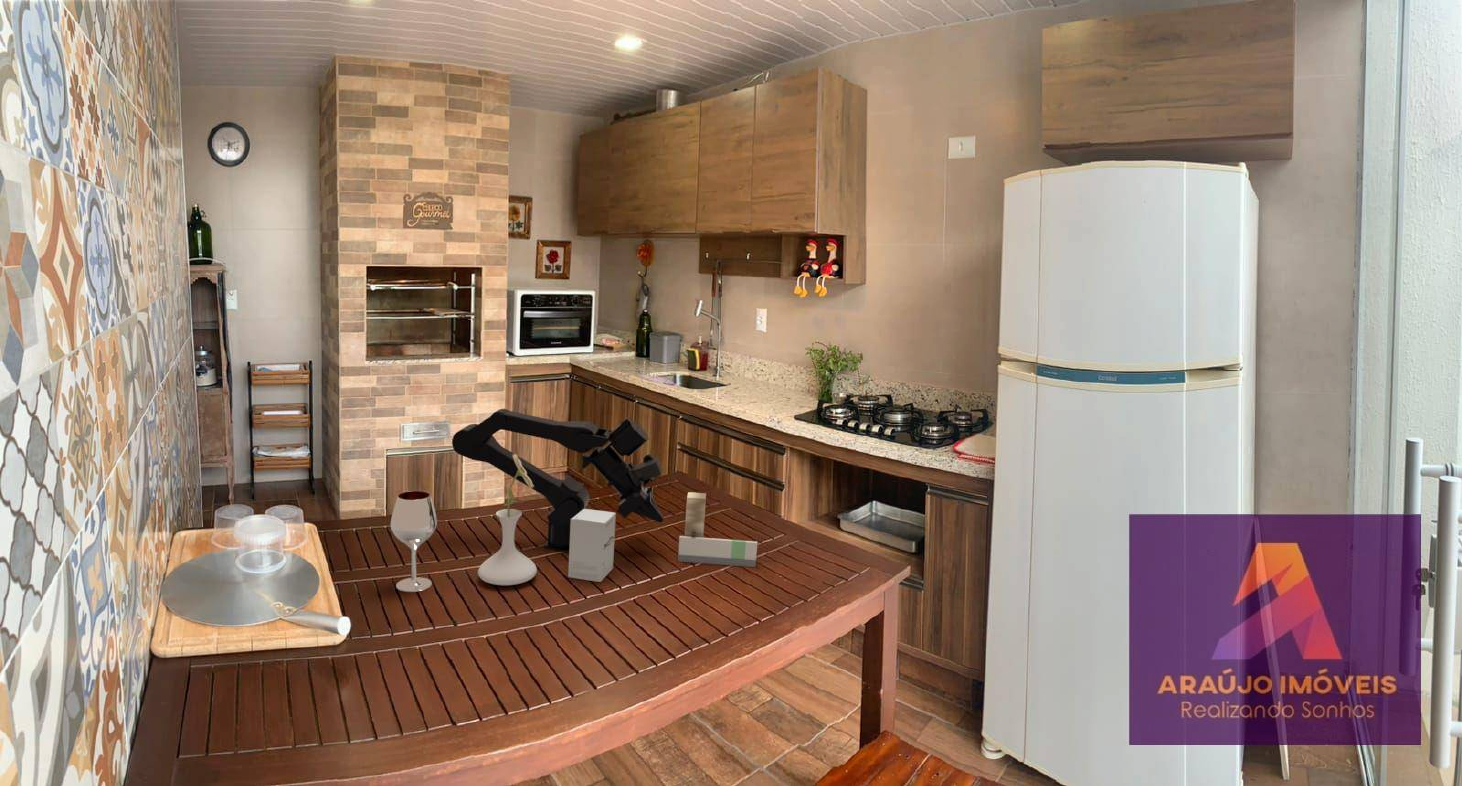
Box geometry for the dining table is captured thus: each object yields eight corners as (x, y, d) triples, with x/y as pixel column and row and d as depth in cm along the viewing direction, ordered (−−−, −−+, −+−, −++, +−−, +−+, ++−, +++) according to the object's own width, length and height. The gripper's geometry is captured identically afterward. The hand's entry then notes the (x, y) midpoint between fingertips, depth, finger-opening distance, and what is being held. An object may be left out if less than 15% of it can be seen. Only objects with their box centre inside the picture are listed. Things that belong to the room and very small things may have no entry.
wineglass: (392, 596, 149) (392, 503, 146) (388, 579, 156) (388, 490, 153) (439, 591, 153) (440, 500, 150) (433, 574, 160) (434, 487, 157)
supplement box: (601, 583, 162) (604, 523, 160) (567, 577, 163) (569, 518, 161) (614, 569, 169) (616, 512, 167) (580, 564, 170) (583, 507, 168)
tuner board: (677, 561, 176) (679, 537, 175) (680, 548, 184) (682, 525, 183) (755, 567, 176) (757, 543, 175) (754, 553, 184) (756, 530, 183)
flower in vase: (528, 593, 155) (532, 467, 151) (469, 588, 155) (471, 463, 151) (544, 566, 168) (548, 450, 163) (490, 562, 168) (492, 446, 163)
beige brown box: (680, 554, 175) (684, 500, 173) (682, 543, 182) (686, 491, 179) (703, 555, 175) (707, 502, 173) (704, 545, 182) (708, 493, 179)
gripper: (636, 456, 166) (686, 511, 168) (646, 436, 185) (692, 485, 187) (596, 490, 168) (646, 544, 170) (611, 467, 186) (656, 516, 188)
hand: (662, 520), depth 178 cm, fingers closed
